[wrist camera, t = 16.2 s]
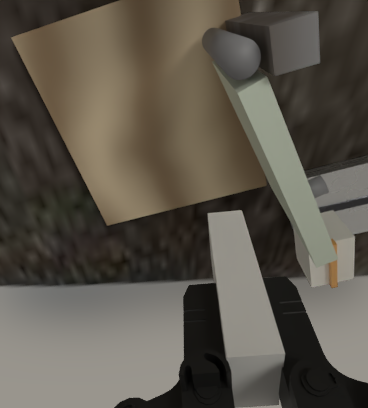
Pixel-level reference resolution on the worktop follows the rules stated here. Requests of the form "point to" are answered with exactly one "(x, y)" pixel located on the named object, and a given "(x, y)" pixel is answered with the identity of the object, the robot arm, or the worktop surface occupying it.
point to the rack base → (157, 98)
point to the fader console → (345, 191)
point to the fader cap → (343, 248)
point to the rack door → (270, 138)
